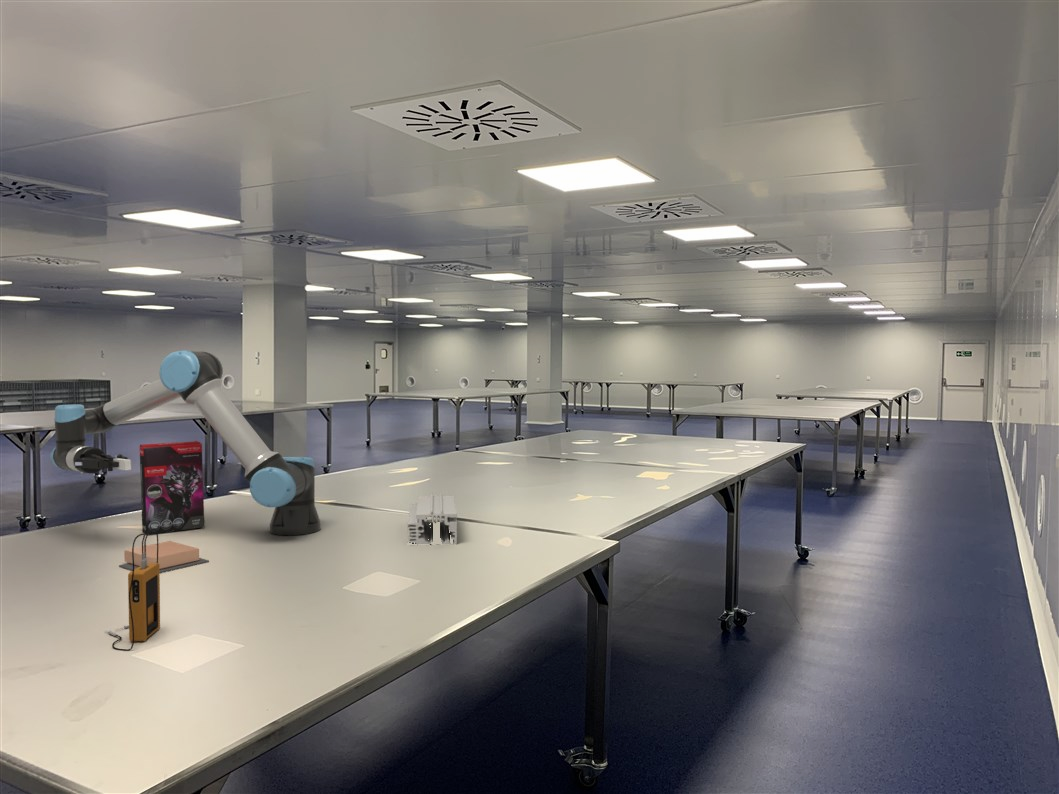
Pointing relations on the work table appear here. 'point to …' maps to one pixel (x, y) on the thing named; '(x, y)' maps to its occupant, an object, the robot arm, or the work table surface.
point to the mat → (200, 561)
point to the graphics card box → (171, 486)
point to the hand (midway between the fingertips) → (128, 465)
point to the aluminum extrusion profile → (432, 507)
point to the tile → (164, 554)
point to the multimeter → (143, 598)
